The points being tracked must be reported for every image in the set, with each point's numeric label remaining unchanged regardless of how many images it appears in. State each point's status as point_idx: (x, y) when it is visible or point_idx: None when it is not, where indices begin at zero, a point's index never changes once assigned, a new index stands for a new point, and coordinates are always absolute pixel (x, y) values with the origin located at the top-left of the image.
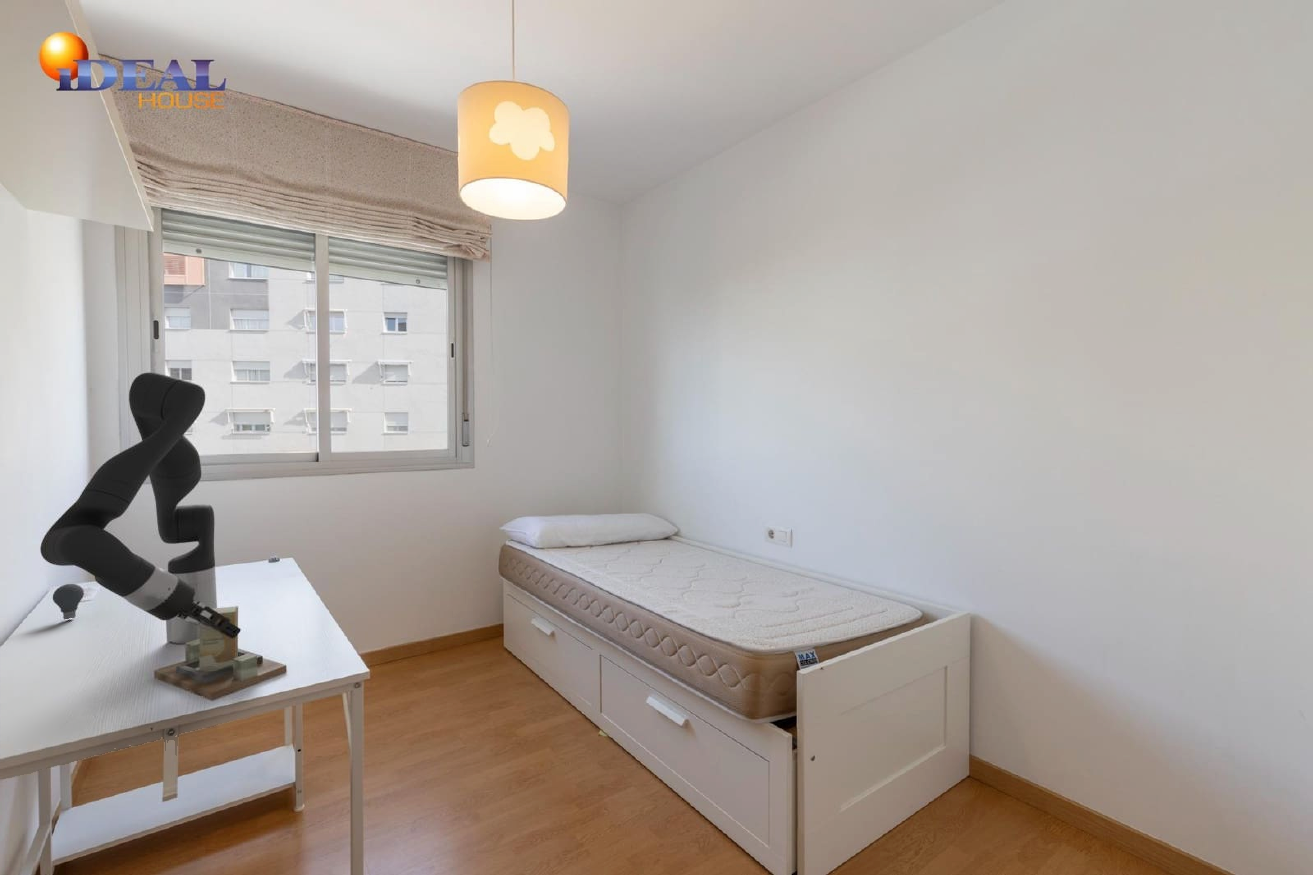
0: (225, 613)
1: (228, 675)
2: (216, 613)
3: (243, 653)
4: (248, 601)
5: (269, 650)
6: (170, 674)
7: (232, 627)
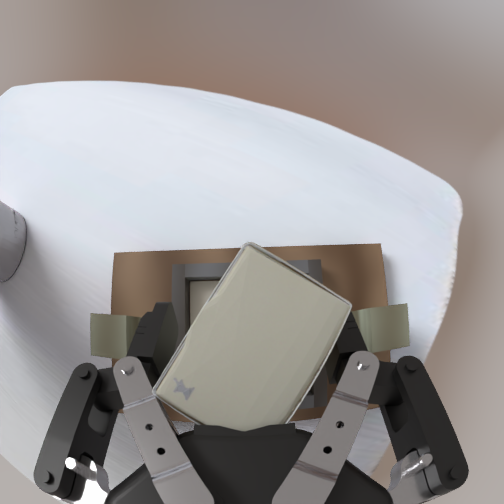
0: (329, 348)
1: None
2: (449, 428)
3: None
4: None
5: (196, 198)
6: (175, 414)
7: (358, 334)
